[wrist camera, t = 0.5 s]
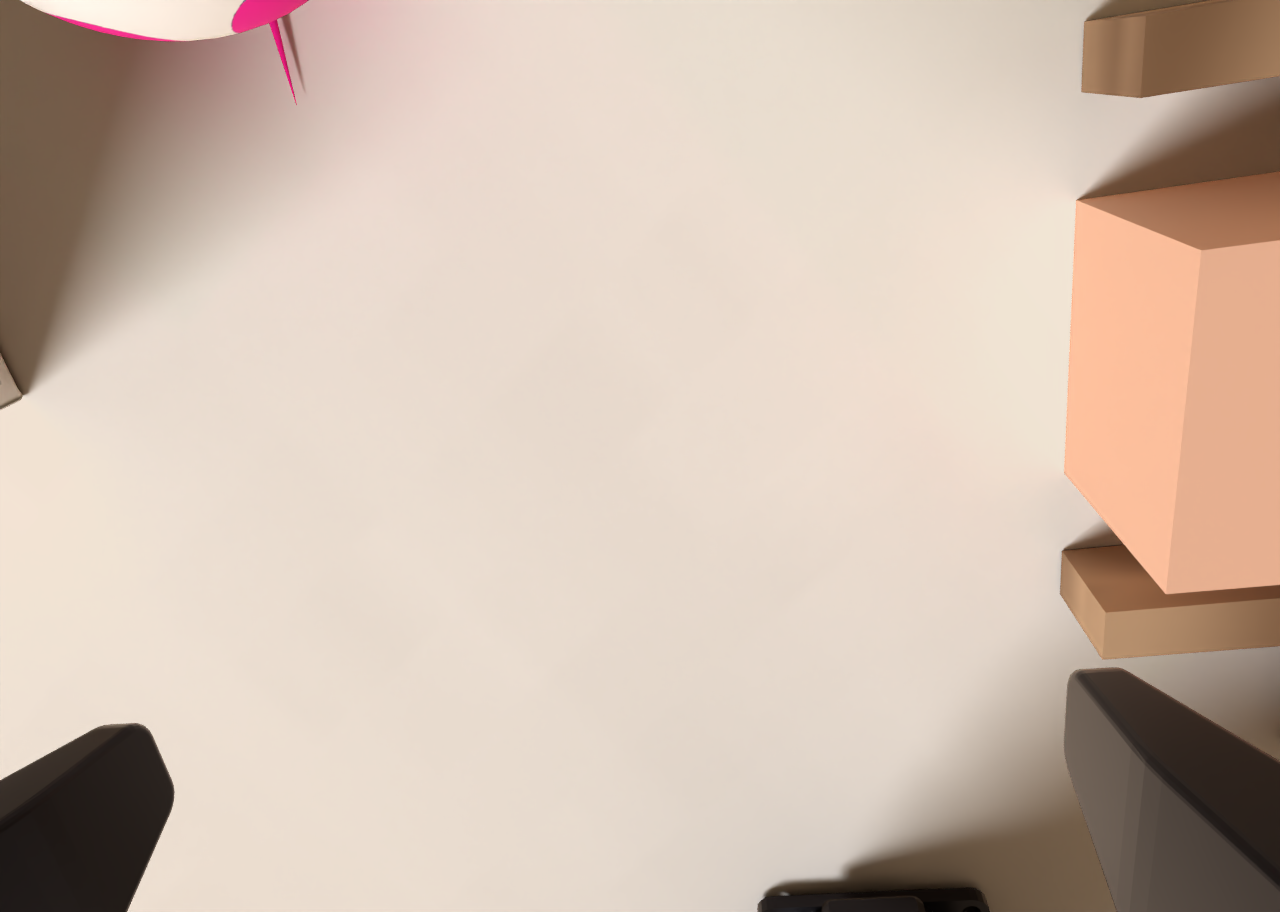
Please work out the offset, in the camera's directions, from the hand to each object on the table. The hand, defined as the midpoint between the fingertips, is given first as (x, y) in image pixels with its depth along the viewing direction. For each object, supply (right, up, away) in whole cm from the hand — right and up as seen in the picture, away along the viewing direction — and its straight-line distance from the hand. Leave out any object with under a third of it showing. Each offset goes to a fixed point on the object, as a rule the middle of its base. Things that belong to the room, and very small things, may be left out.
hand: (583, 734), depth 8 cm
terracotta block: (+13, +5, +10) cm, 17 cm away
